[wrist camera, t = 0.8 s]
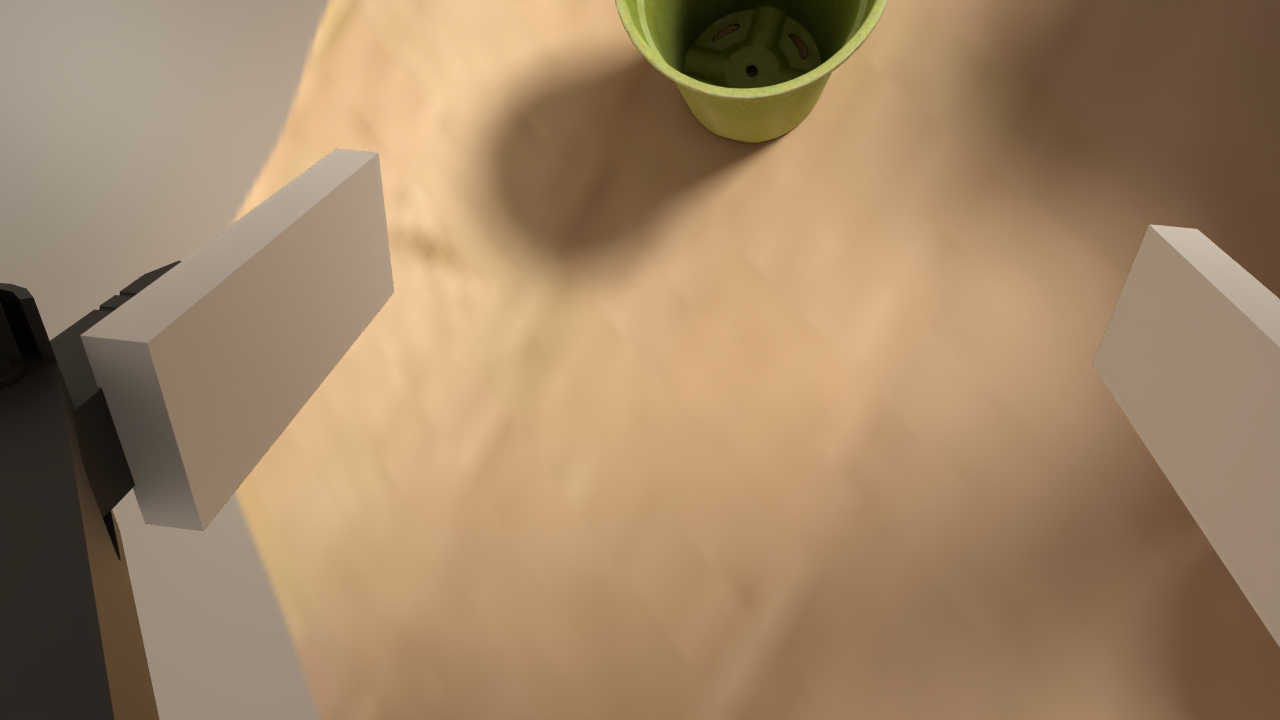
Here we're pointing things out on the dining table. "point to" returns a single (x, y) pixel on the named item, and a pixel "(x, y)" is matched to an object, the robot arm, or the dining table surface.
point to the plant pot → (748, 55)
